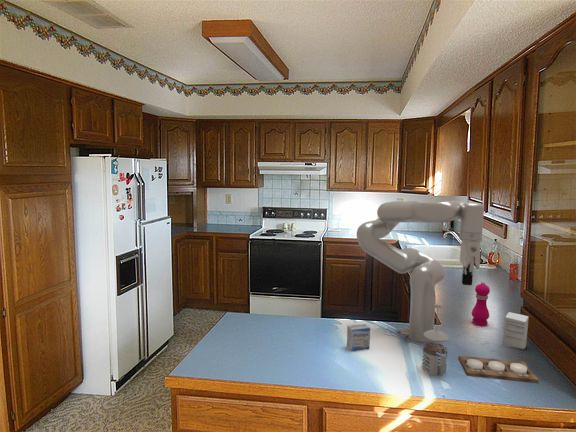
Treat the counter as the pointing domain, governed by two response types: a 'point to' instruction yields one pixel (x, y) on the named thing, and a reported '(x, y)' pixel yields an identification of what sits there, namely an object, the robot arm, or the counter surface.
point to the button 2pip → (518, 368)
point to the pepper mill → (481, 305)
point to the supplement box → (515, 330)
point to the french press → (435, 350)
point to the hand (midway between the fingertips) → (466, 284)
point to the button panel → (497, 374)
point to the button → (496, 366)
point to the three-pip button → (474, 364)
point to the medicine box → (358, 337)
